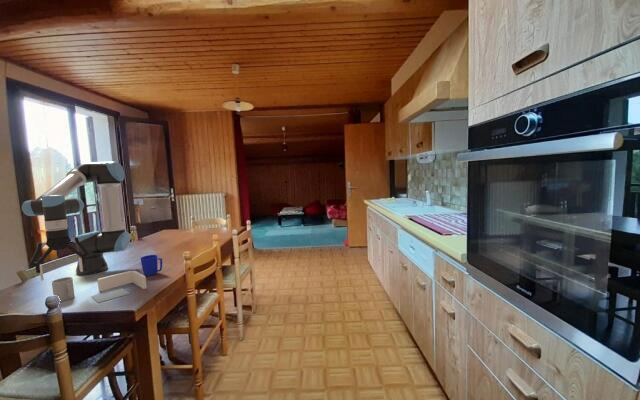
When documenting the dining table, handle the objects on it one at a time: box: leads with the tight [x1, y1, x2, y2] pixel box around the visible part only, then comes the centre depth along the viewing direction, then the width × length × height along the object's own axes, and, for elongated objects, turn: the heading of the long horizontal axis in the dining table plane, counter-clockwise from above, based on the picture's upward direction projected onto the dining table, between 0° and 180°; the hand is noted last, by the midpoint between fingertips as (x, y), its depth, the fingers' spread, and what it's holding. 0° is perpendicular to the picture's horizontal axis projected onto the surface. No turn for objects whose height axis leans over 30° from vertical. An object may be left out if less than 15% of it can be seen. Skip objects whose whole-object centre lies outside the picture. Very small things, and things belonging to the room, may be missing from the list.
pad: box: [91, 287, 130, 304], centre depth 137 cm, size 12×12×1 cm
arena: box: [96, 269, 147, 292], centre depth 144 cm, size 17×16×6 cm
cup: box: [51, 276, 75, 302], centre depth 135 cm, size 7×10×9 cm
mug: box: [140, 254, 163, 277], centre depth 165 cm, size 8×12×10 cm
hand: (62, 275), depth 134 cm, fingers open, 13 cm apart
